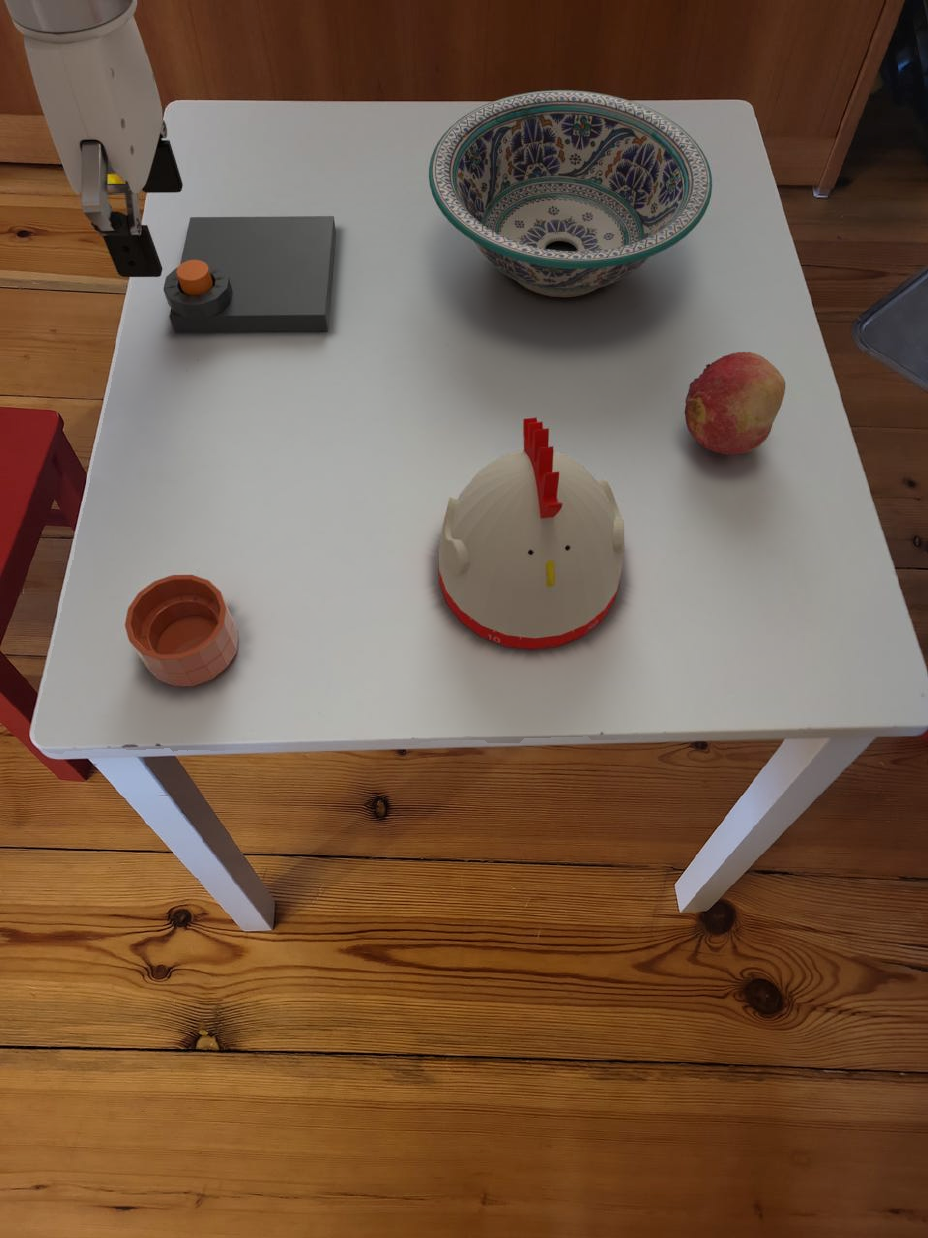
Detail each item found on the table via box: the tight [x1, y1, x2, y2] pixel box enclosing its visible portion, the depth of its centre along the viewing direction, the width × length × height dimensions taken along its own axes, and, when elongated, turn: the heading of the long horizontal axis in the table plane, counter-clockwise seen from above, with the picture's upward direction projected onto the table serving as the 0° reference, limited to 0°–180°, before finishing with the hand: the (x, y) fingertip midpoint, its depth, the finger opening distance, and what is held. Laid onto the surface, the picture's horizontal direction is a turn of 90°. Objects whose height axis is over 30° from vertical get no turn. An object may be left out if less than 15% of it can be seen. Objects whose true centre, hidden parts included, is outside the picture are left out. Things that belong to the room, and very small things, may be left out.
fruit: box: [684, 351, 786, 455], centre depth 73 cm, size 8×8×8 cm
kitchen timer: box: [438, 417, 625, 650], centre depth 64 cm, size 14×14×15 cm
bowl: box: [428, 89, 713, 298], centre depth 84 cm, size 25×25×10 cm
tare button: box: [176, 260, 213, 296], centre depth 81 cm, size 3×3×2 cm
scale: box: [163, 215, 337, 334], centre depth 85 cm, size 14×14×4 cm
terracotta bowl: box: [124, 574, 239, 687], centre depth 65 cm, size 7×7×5 cm
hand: (152, 230), depth 69 cm, fingers open, 9 cm apart
